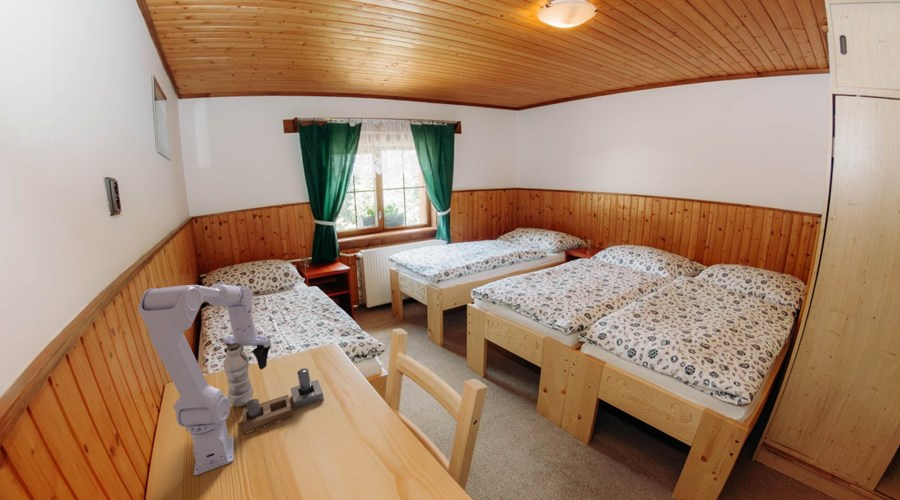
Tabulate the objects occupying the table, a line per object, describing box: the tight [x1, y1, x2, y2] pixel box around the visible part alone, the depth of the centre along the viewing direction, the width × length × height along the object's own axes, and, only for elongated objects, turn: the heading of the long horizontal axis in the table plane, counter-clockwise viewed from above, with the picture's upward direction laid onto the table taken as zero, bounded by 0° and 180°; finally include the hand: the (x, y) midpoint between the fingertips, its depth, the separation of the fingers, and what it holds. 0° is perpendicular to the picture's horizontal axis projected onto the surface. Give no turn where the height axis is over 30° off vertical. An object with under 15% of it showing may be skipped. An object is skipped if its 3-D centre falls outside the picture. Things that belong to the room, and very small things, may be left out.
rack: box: [242, 394, 294, 434], centre depth 105 cm, size 8×12×6 cm, turn 119°
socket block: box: [290, 379, 324, 411], centre depth 113 cm, size 8×8×2 cm
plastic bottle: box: [222, 343, 254, 407], centre depth 109 cm, size 6×7×20 cm
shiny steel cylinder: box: [297, 368, 312, 396], centre depth 112 cm, size 3×3×9 cm
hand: (252, 367), depth 113 cm, fingers open, 7 cm apart
